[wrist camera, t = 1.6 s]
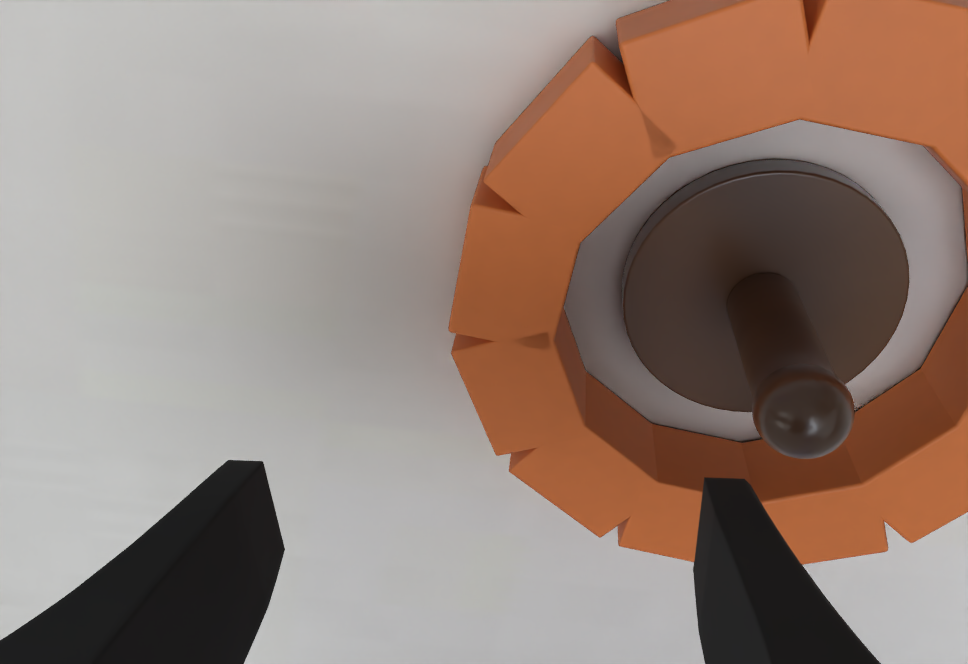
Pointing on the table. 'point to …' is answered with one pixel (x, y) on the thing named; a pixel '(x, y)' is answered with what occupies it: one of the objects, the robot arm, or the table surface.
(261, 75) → the table surface
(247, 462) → the robot arm
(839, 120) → the ring
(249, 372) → the table surface
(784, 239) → the peg stand
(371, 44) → the table surface
